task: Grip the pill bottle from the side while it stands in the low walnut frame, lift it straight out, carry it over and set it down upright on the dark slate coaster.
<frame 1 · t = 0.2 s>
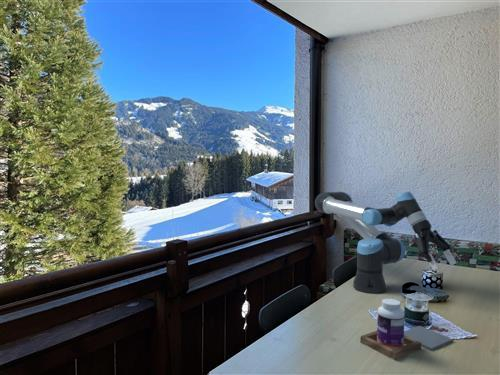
hand: (445, 266, 153), 15 cm above the table, tool tilted 35°, fingers open, 13 cm apart
slate coaster: (424, 338, 119), on the table
pill bottle: (390, 346, 115), resting in walnut frame
walnut frame: (390, 345, 115), on the table
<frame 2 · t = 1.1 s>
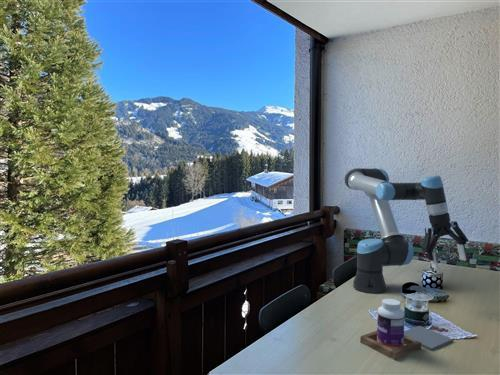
hand: (449, 264, 146), 18 cm above the table, tool pointing down, fingers open, 13 cm apart
nothing on the table moved.
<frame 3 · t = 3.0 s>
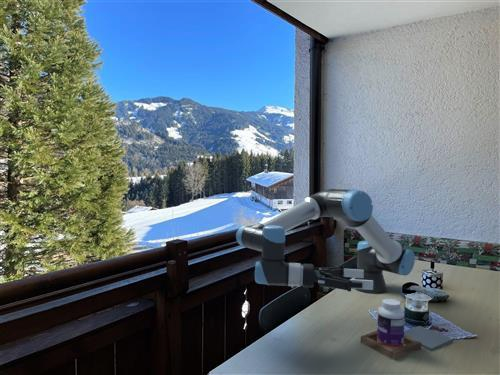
hand: (367, 279, 115), 21 cm above the table, tool horizontal, fingers open, 13 cm apart
nothing on the table moved.
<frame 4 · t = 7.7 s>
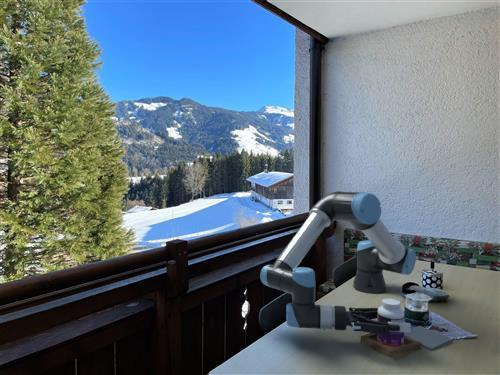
hand: (406, 321, 114), 8 cm above the table, tool horizontal, fingers closed on pill bottle, 8 cm apart
pill bottle: (390, 346, 115), resting in walnut frame, touching gripper
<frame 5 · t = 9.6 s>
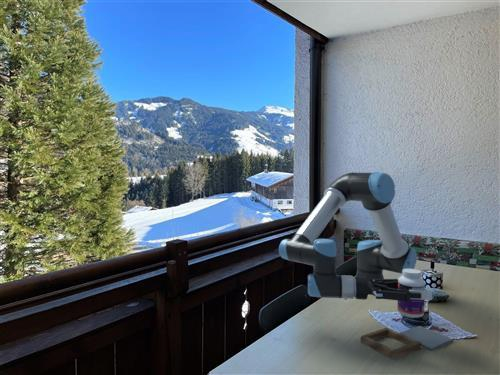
hand: (426, 290, 115), 17 cm above the table, tool horizontal, fingers closed on pill bottle, 8 cm apart
pill bottle: (410, 314, 116), point 9 cm above the table, touching gripper
when the fingers open (10 cm above the table, at t = 11.9 s): pill bottle drops 1 cm, resting on slate coaster.
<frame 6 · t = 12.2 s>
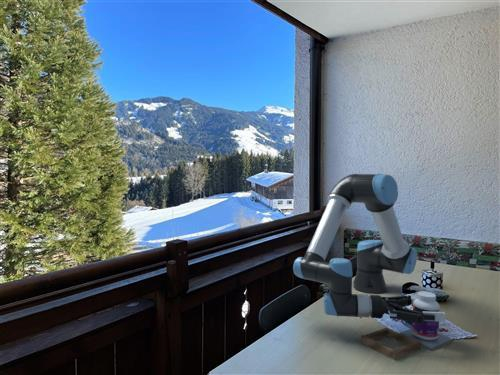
hand: (437, 309, 118), 10 cm above the table, tool horizontal, fingers open, 11 cm apart
pill bottle: (424, 336, 119), point 1 cm above the table, touching slate coaster
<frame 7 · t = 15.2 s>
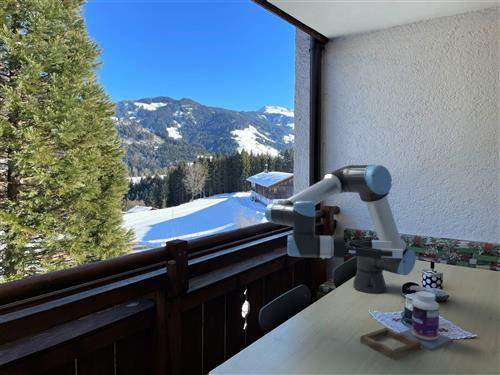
hand: (396, 249, 120), 30 cm above the table, tool horizontal, fingers open, 13 cm apart
nothing on the table moved.
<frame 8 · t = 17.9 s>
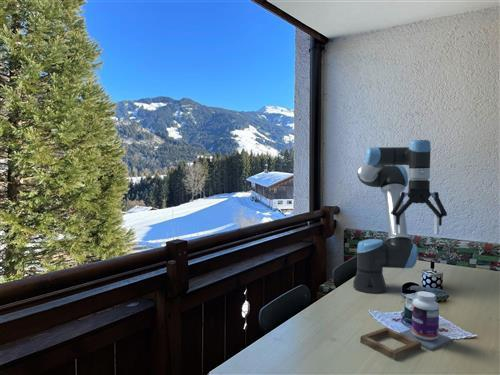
hand: (418, 233, 140), 32 cm above the table, tool pointing down, fingers open, 13 cm apart
nothing on the table moved.
at the end: pill bottle inside the target area on the slate coaster (0.0 cm from its centre), point 0.6 cm above the slate coaster's base; pill bottle tilted 0°; the gripper is holding nothing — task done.
